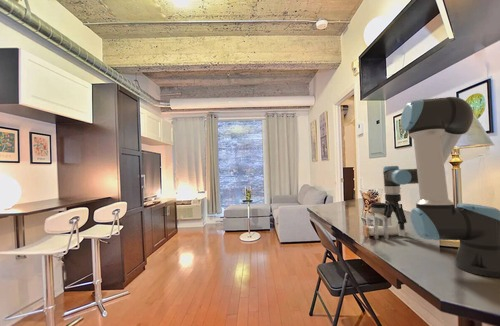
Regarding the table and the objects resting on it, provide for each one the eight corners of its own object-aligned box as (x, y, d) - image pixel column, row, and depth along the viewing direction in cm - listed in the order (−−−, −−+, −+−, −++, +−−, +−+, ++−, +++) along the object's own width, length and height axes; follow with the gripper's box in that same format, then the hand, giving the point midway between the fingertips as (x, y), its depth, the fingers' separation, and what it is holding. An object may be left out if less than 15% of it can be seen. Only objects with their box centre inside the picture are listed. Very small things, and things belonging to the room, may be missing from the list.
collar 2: (388, 238, 126) (387, 216, 126) (385, 238, 126) (384, 217, 126) (378, 232, 138) (377, 212, 138) (375, 232, 138) (374, 212, 138)
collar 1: (378, 238, 126) (377, 217, 127) (375, 238, 127) (374, 217, 127) (369, 232, 138) (368, 212, 139) (366, 232, 139) (365, 213, 139)
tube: (400, 233, 134) (399, 224, 134) (405, 236, 128) (404, 226, 128) (363, 234, 136) (362, 225, 136) (366, 237, 130) (366, 227, 130)
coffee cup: (384, 225, 153) (382, 202, 153) (391, 229, 143) (389, 204, 144) (368, 225, 153) (367, 202, 154) (374, 229, 144) (373, 204, 144)
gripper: (412, 195, 119) (415, 238, 118) (388, 191, 144) (391, 226, 143) (397, 196, 120) (399, 238, 119) (375, 191, 145) (378, 227, 144)
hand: (395, 232), depth 131 cm, fingers open, 13 cm apart
